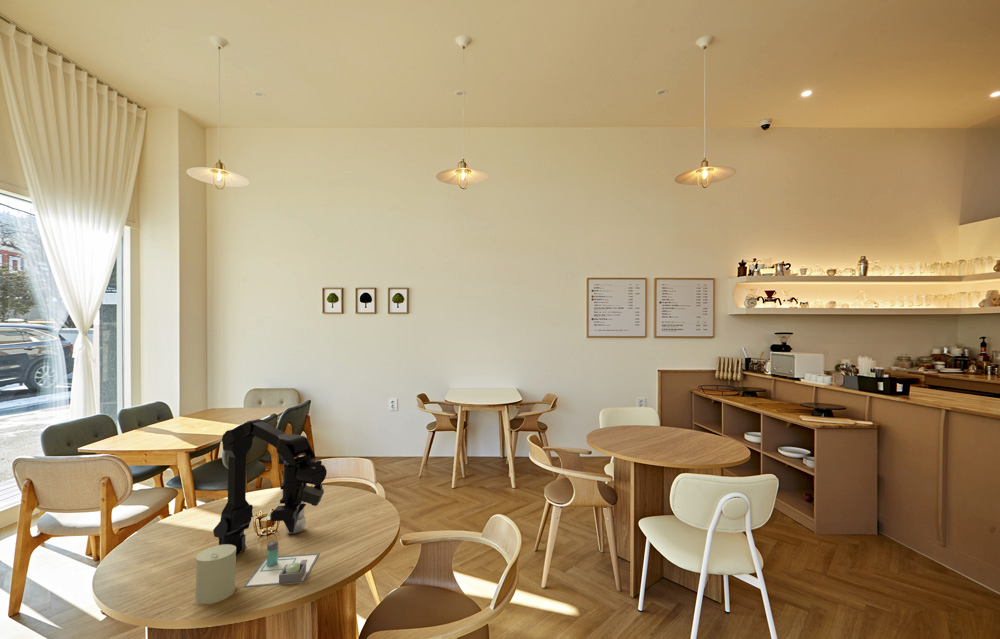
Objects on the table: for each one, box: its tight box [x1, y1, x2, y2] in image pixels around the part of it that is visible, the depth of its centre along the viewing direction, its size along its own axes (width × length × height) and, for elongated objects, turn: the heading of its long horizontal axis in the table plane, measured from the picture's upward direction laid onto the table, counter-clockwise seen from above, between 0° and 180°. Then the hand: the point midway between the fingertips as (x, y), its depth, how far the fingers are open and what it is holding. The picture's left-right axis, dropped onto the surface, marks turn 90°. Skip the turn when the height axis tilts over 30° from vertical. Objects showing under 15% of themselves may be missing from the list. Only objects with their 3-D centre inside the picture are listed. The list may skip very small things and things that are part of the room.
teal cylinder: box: [266, 540, 279, 567], centre depth 129 cm, size 3×3×6 cm
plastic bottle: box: [284, 501, 306, 535], centre depth 153 cm, size 6×7×20 cm
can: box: [194, 544, 237, 606], centre depth 115 cm, size 9×9×12 cm
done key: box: [286, 563, 300, 574], centre depth 122 cm, size 4×4×3 cm
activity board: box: [242, 553, 320, 588], centre depth 127 cm, size 16×16×3 cm
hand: (291, 532), depth 128 cm, fingers closed
